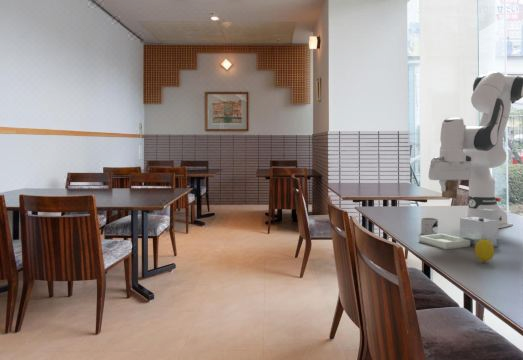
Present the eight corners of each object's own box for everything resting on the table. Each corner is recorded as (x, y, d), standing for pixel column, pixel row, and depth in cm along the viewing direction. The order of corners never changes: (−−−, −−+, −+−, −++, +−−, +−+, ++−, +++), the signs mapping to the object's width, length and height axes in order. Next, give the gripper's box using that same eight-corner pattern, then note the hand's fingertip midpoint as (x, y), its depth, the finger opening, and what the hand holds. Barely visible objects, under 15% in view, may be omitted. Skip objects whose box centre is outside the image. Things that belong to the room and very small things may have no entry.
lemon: (470, 260, 140) (471, 237, 139) (486, 260, 140) (487, 236, 140) (480, 265, 134) (481, 240, 134) (497, 264, 135) (498, 240, 134)
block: (450, 196, 176) (451, 179, 176) (456, 197, 172) (457, 180, 172) (441, 196, 175) (442, 179, 175) (447, 197, 171) (448, 180, 171)
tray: (442, 239, 174) (442, 233, 173) (470, 246, 161) (470, 240, 160) (419, 241, 169) (419, 235, 169) (445, 249, 156) (446, 242, 156)
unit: (474, 240, 170) (475, 214, 169) (499, 246, 160) (500, 218, 159) (457, 242, 167) (457, 215, 166) (481, 248, 156) (482, 220, 156)
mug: (435, 236, 181) (436, 220, 180) (419, 234, 184) (420, 219, 184) (440, 232, 189) (440, 217, 188) (424, 230, 192) (424, 216, 192)
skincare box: (499, 239, 173) (500, 210, 172) (491, 240, 171) (492, 210, 170) (485, 236, 179) (486, 208, 178) (478, 237, 177) (479, 208, 176)
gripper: (437, 157, 166) (435, 192, 167) (475, 157, 173) (474, 191, 174) (425, 157, 172) (424, 190, 173) (463, 157, 179) (461, 189, 180)
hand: (449, 191), depth 173 cm, fingers closed on block, 4 cm apart
